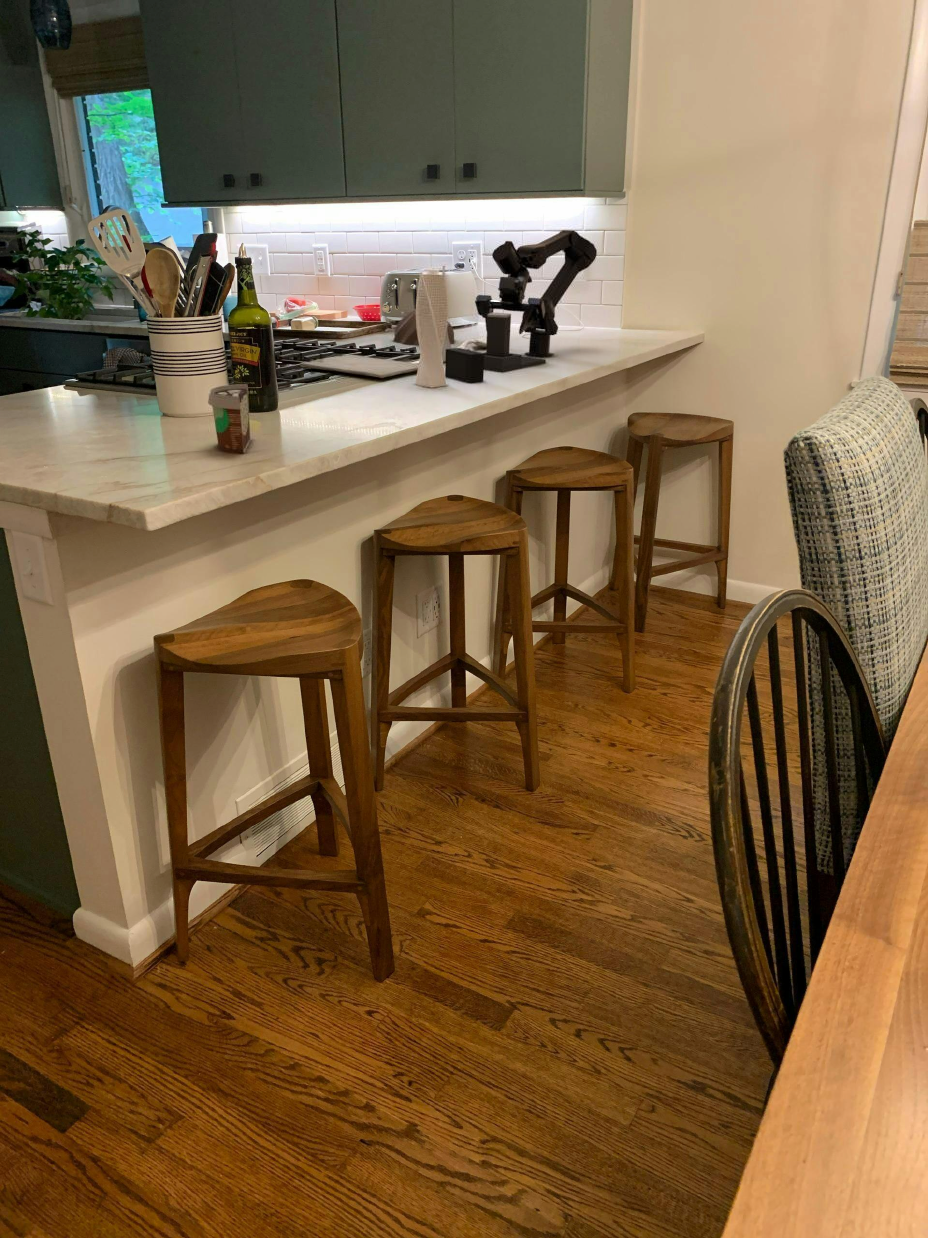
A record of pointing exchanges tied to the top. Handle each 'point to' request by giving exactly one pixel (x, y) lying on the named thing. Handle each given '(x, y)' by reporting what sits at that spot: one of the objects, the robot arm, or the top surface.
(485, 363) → the dark grey tray
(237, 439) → the food container
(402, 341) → the decorative dome
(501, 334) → the pad block
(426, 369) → the skyscraper
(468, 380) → the black rectangular block
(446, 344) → the flask
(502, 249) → the robot arm
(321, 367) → the decorative slab
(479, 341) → the spoon
